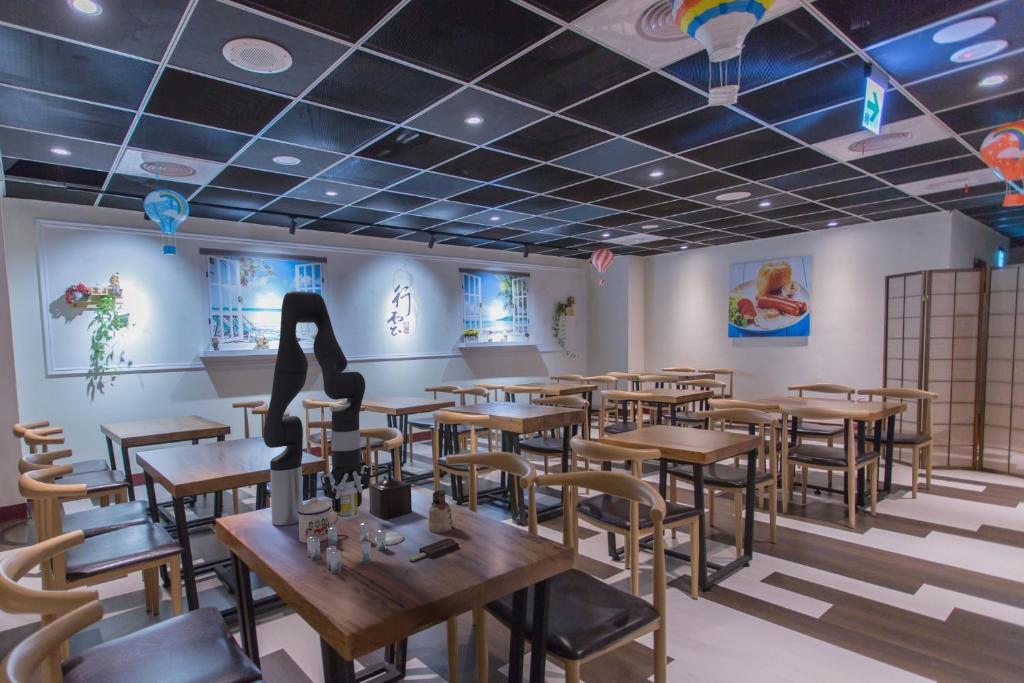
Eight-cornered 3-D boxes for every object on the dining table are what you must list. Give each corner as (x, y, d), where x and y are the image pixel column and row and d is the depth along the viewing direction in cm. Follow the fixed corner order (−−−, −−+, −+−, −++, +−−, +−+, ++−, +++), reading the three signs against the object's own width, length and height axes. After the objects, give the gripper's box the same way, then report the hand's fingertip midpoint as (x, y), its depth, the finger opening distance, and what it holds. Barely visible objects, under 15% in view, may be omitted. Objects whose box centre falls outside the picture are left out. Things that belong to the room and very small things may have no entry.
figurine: (450, 523, 163) (449, 484, 163) (455, 531, 157) (454, 490, 156) (427, 526, 161) (426, 487, 161) (431, 534, 154) (429, 493, 154)
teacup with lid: (304, 546, 147) (303, 505, 147) (294, 537, 155) (293, 498, 154) (346, 535, 155) (345, 496, 155) (334, 527, 162) (333, 489, 162)
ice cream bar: (415, 566, 134) (461, 548, 145) (415, 559, 134) (461, 542, 145) (404, 560, 138) (449, 543, 149) (403, 553, 138) (449, 537, 149)
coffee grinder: (395, 505, 182) (394, 453, 182) (412, 512, 174) (411, 458, 174) (353, 516, 172) (351, 461, 172) (369, 524, 164) (367, 466, 164)
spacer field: (299, 554, 142) (298, 536, 142) (357, 535, 155) (357, 518, 155) (336, 575, 129) (335, 555, 129) (396, 552, 142) (396, 534, 142)
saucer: (369, 540, 151) (369, 538, 151) (392, 532, 157) (392, 530, 157) (385, 547, 145) (385, 545, 145) (409, 538, 151) (409, 536, 151)
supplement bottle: (344, 521, 139) (343, 485, 138) (333, 516, 142) (332, 481, 142) (361, 515, 143) (361, 480, 142) (350, 511, 146) (349, 476, 146)
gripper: (362, 440, 150) (363, 499, 150) (313, 449, 139) (315, 512, 139) (377, 443, 145) (378, 505, 145) (328, 453, 134) (329, 519, 134)
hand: (347, 508), depth 142 cm, fingers closed on supplement bottle, 5 cm apart
